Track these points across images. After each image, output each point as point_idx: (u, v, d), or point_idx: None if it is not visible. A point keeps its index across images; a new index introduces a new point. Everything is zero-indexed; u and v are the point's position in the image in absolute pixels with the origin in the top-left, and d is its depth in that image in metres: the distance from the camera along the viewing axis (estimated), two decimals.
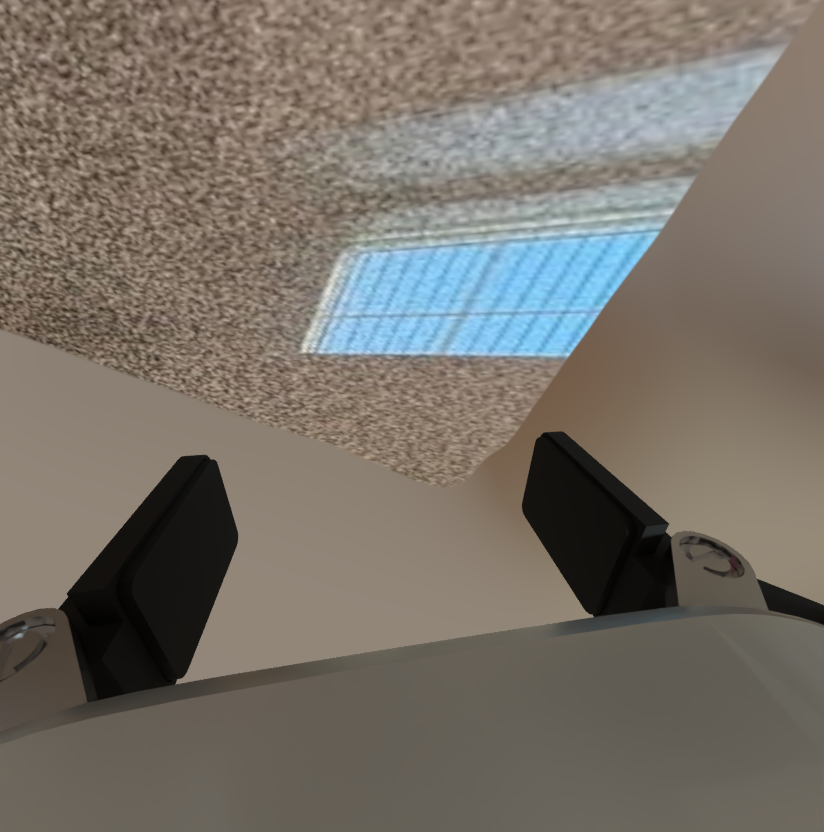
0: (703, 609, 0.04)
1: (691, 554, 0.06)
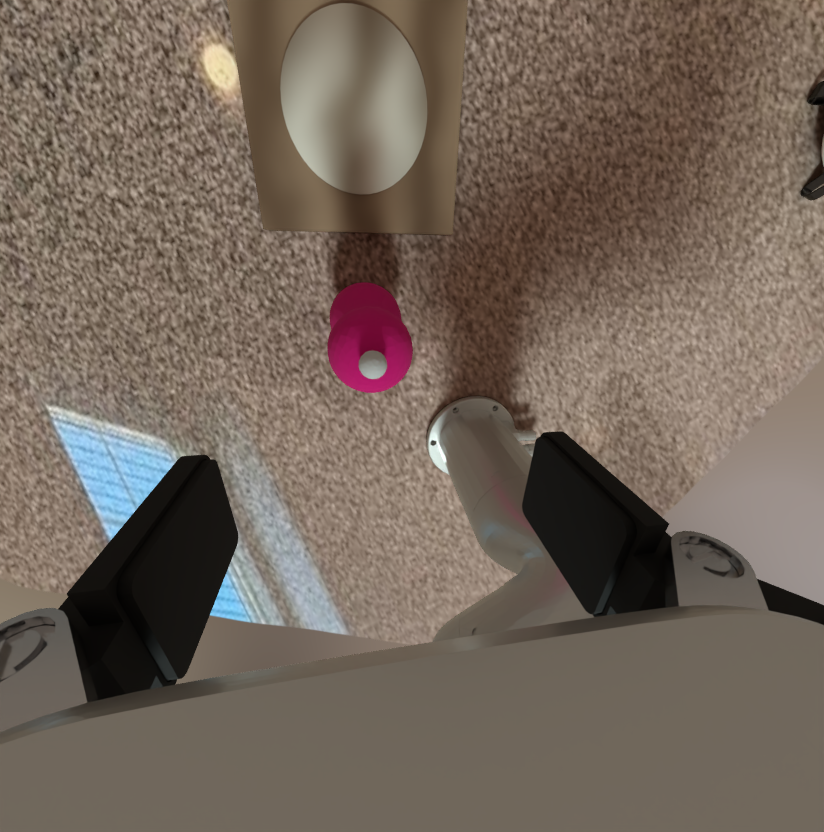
0: (703, 609, 0.04)
1: (691, 554, 0.06)
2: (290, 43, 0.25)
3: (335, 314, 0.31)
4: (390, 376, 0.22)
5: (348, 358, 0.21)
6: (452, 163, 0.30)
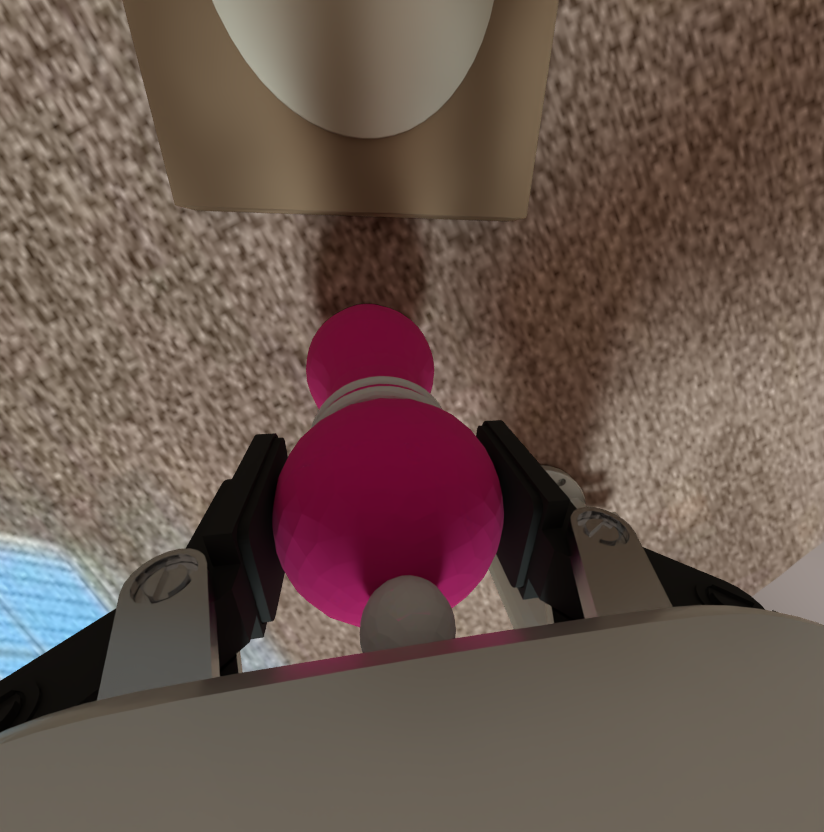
0: (703, 609, 0.04)
1: (588, 529, 0.07)
2: None
3: (314, 368, 0.16)
4: (451, 606, 0.08)
5: (327, 585, 0.07)
6: (538, 79, 0.16)
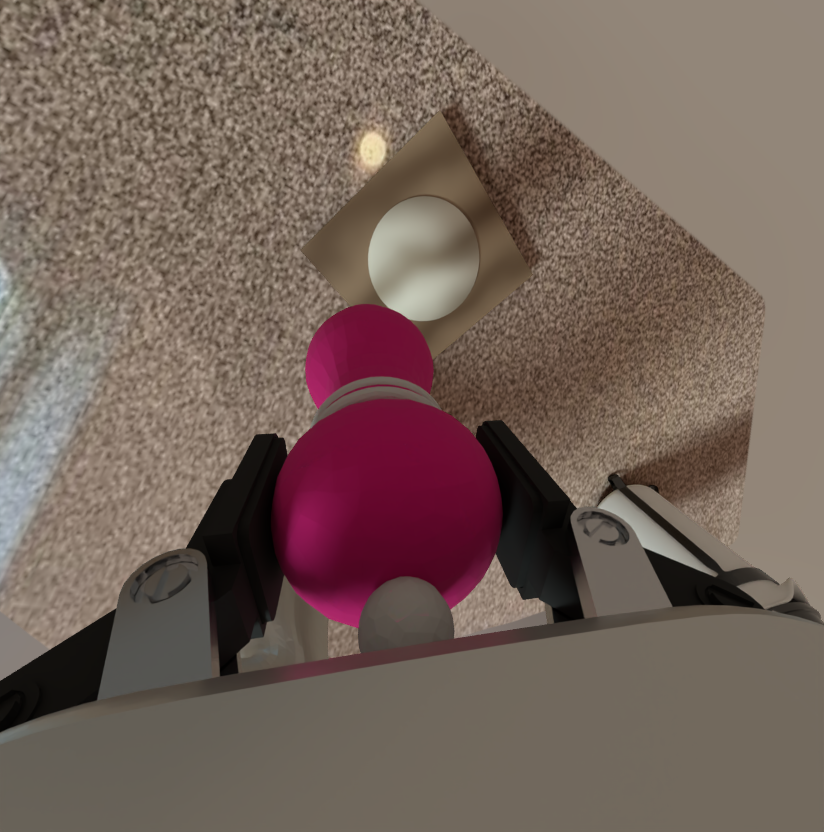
0: (703, 609, 0.04)
1: (588, 530, 0.07)
2: (422, 196, 0.33)
3: (313, 369, 0.16)
4: (450, 607, 0.08)
5: (325, 586, 0.07)
6: (447, 343, 0.40)
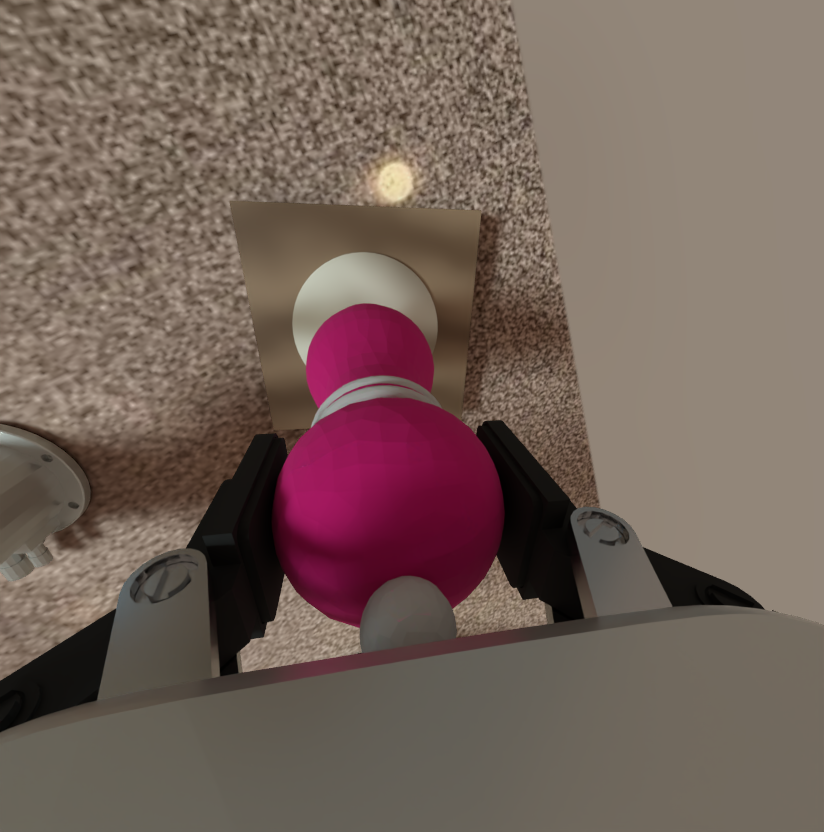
0: (703, 609, 0.04)
1: (588, 530, 0.07)
2: (409, 269, 0.26)
3: (313, 368, 0.16)
4: (452, 606, 0.08)
5: (327, 586, 0.07)
6: None
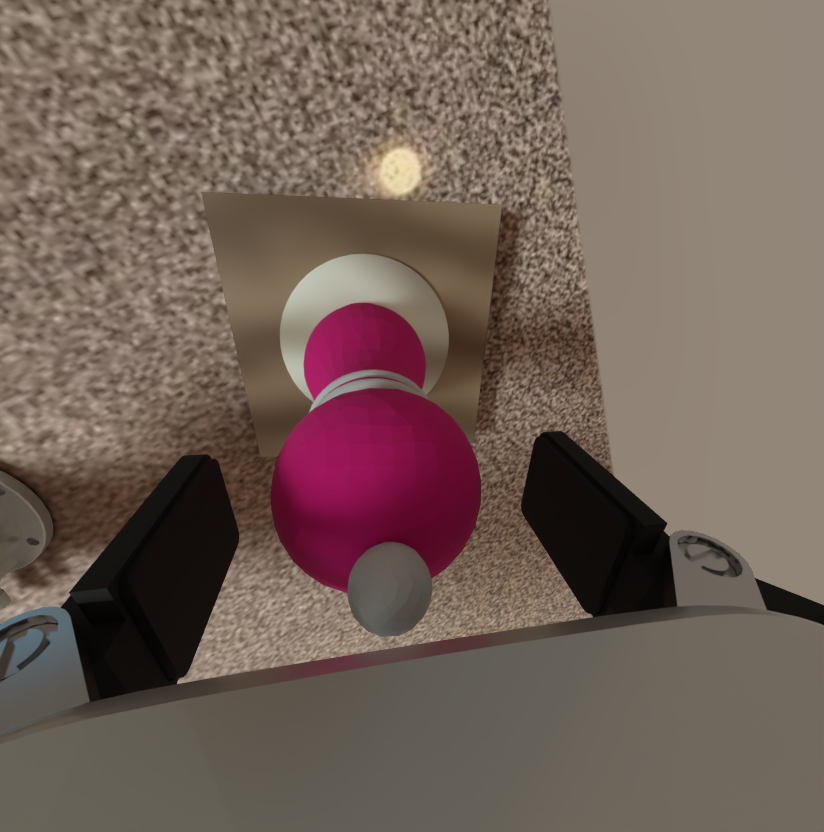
0: (703, 609, 0.04)
1: (689, 554, 0.06)
2: (417, 274, 0.22)
3: (311, 364, 0.17)
4: (432, 575, 0.09)
5: (319, 551, 0.08)
6: None
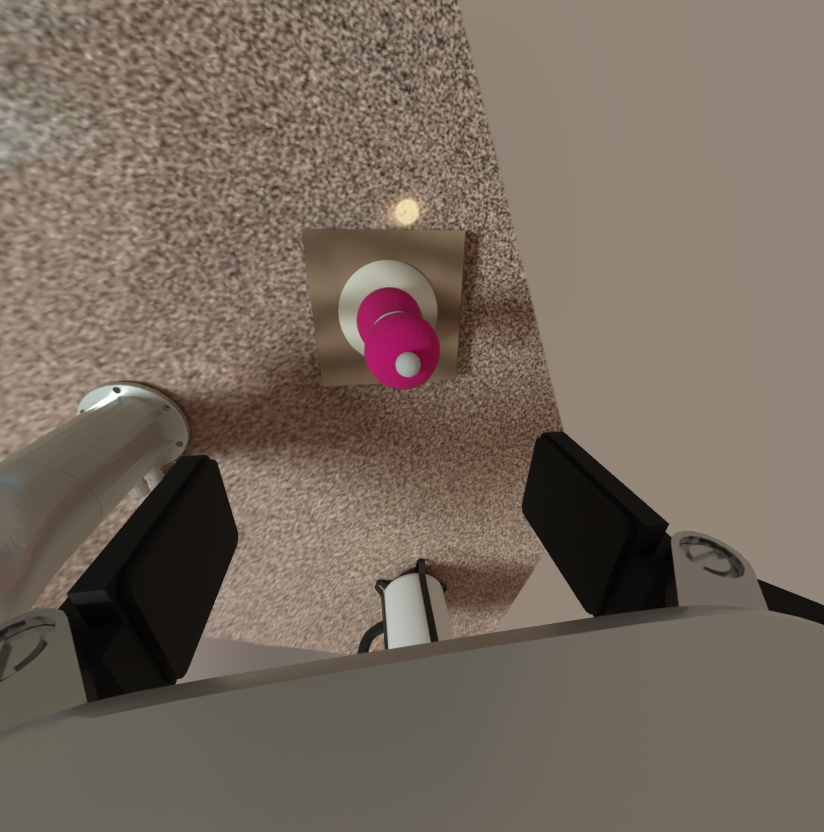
0: (703, 609, 0.04)
1: (691, 554, 0.06)
2: (417, 271, 0.39)
3: (363, 317, 0.33)
4: (421, 375, 0.25)
5: (385, 359, 0.24)
6: (366, 381, 0.44)
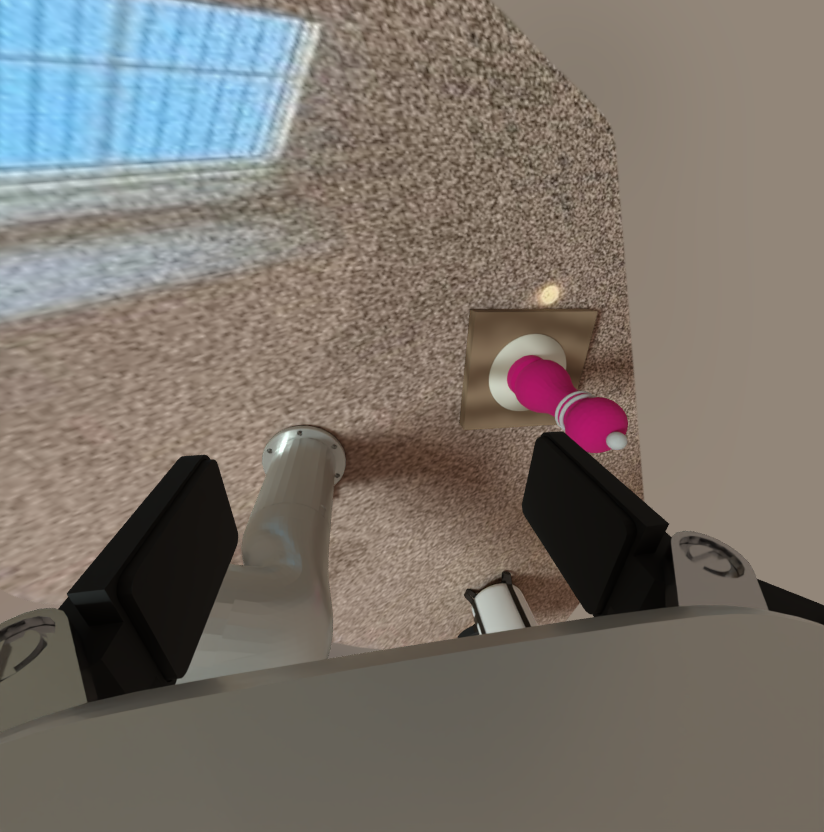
0: (703, 609, 0.04)
1: (691, 554, 0.06)
2: (556, 342, 0.48)
3: (531, 386, 0.42)
4: None
5: (596, 435, 0.33)
6: (498, 425, 0.53)
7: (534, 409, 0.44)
